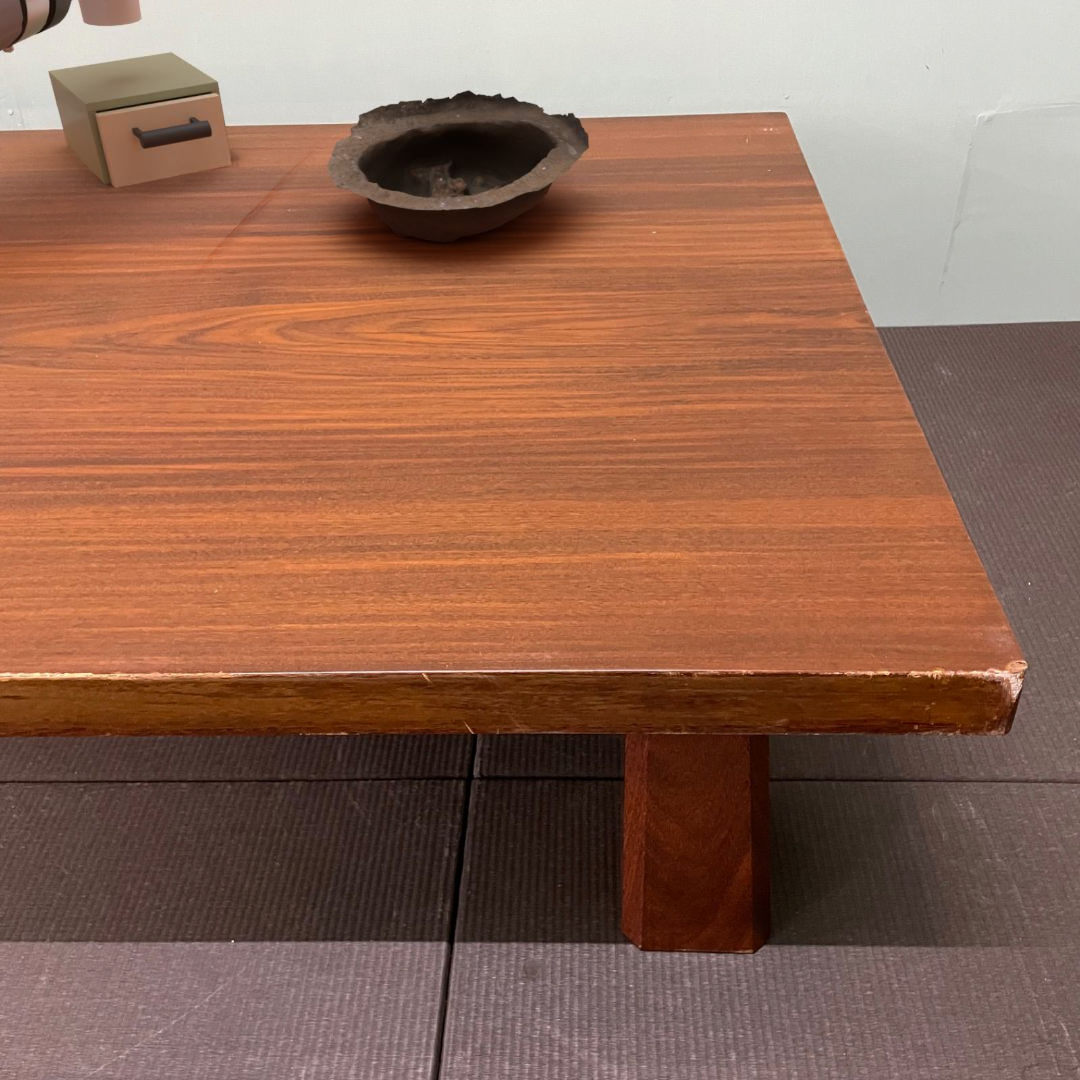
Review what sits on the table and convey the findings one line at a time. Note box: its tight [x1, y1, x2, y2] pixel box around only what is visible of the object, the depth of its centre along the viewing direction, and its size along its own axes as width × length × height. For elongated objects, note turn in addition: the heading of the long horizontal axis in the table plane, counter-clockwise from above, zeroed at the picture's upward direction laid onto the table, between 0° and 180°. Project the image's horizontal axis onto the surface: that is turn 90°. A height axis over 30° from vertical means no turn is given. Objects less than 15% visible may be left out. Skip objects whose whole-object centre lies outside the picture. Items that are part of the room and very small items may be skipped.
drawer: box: [95, 93, 233, 189], centre depth 125 cm, size 19×13×8 cm, turn 32°
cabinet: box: [47, 51, 233, 186], centre depth 128 cm, size 16×14×10 cm
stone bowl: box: [326, 89, 590, 243], centre depth 113 cm, size 25×25×9 cm
